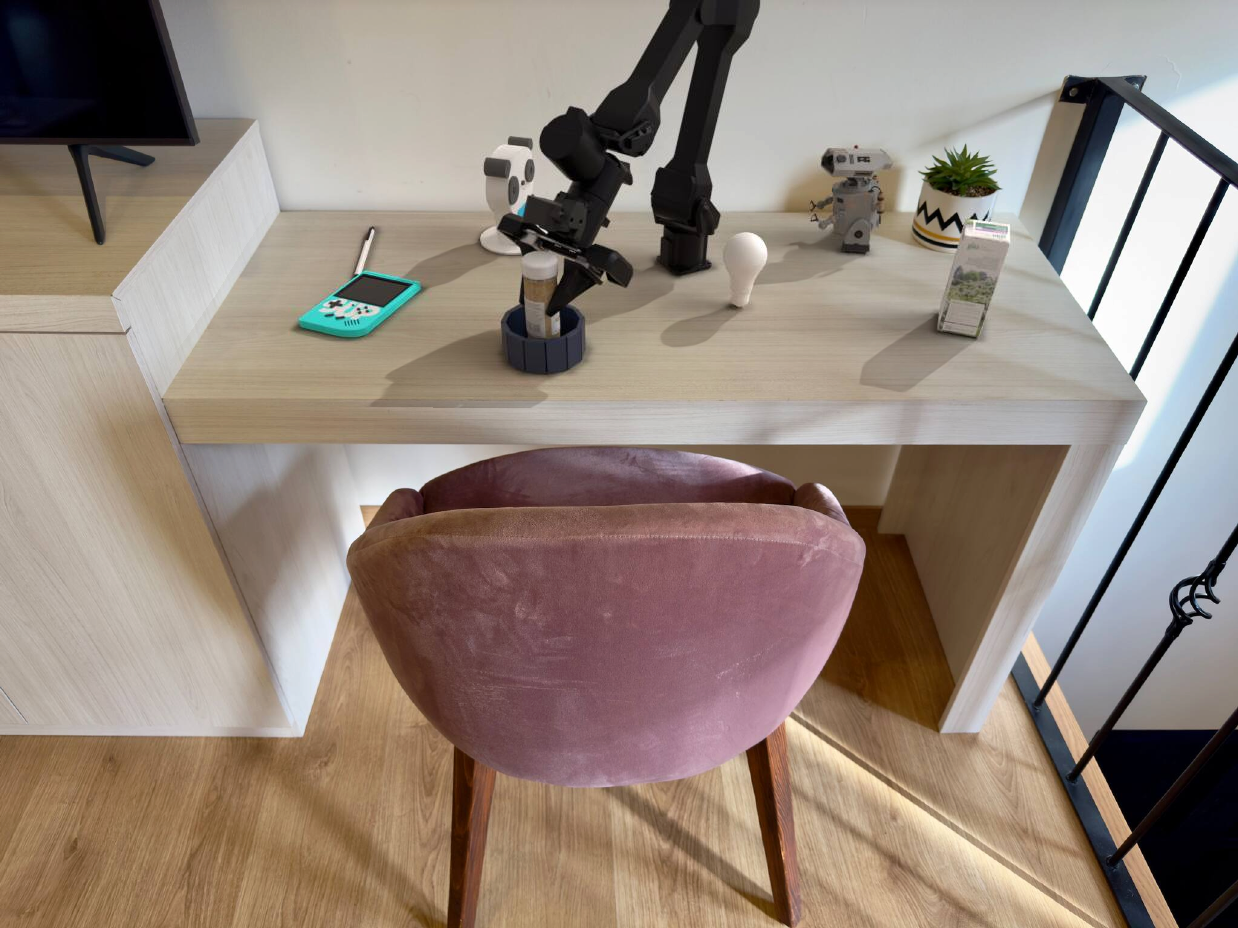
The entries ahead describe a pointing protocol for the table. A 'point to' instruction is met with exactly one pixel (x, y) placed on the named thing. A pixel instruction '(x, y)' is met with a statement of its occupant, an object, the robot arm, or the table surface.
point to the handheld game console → (360, 305)
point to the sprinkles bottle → (540, 294)
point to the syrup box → (973, 277)
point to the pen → (364, 251)
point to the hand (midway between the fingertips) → (534, 310)
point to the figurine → (854, 194)
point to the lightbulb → (743, 264)
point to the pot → (543, 342)
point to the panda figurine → (508, 189)
